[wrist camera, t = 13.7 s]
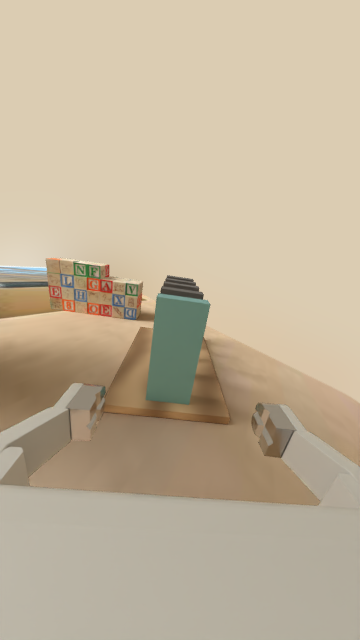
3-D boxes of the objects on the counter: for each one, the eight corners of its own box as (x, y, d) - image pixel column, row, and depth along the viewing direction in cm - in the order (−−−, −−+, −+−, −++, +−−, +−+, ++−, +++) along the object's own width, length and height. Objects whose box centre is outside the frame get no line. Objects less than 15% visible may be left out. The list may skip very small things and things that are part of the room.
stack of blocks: (141, 313, 52) (144, 269, 48) (136, 321, 46) (139, 271, 42) (64, 302, 51) (61, 257, 47) (49, 309, 45) (44, 257, 41)
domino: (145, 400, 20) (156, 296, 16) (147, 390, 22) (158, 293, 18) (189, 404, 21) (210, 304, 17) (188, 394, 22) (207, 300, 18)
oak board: (101, 411, 19) (100, 404, 19) (140, 331, 40) (140, 326, 40) (227, 424, 20) (230, 417, 20) (202, 339, 41) (202, 335, 41)
